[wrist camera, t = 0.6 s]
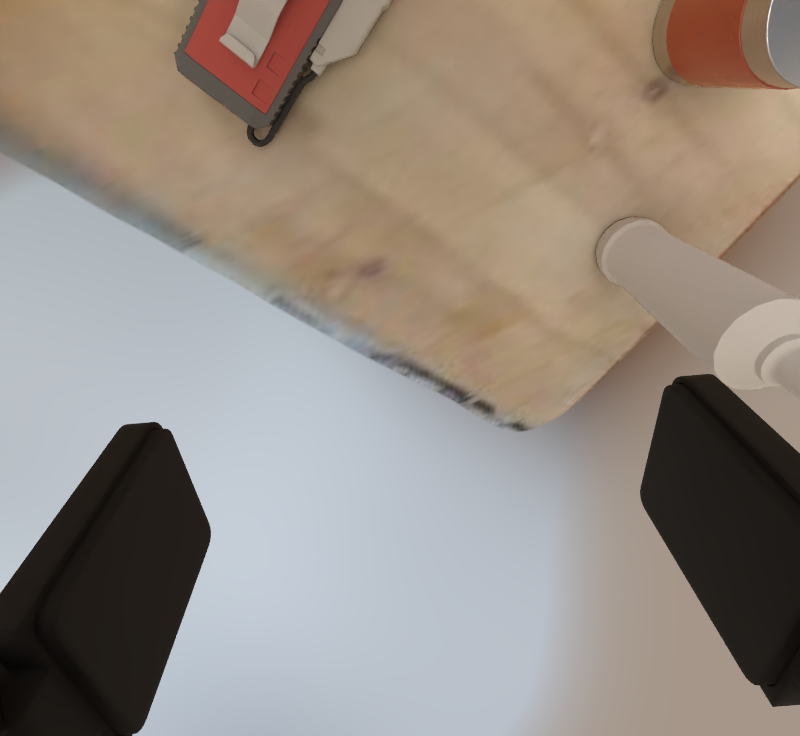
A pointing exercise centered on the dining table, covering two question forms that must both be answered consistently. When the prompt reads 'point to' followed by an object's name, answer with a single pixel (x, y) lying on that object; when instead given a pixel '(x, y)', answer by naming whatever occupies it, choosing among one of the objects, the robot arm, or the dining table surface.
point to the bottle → (707, 305)
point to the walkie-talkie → (269, 51)
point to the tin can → (729, 43)
